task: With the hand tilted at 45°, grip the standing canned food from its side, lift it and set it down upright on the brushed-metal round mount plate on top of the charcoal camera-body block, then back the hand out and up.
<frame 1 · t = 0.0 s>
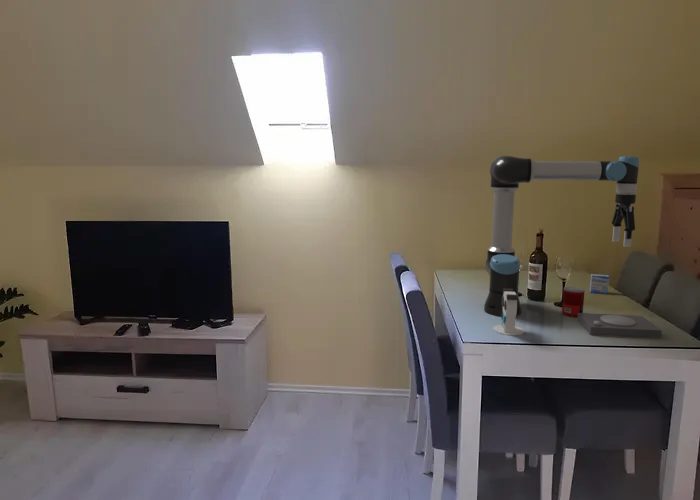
hand: (621, 244, 223), 28 cm above the table, tool pointing down, fingers open, 13 cm apart
canned food: (572, 314, 218), on the table
mount: (616, 328, 200), on the table
medicine box: (598, 293, 254), on the table
white upright stand: (508, 330, 198), on the table
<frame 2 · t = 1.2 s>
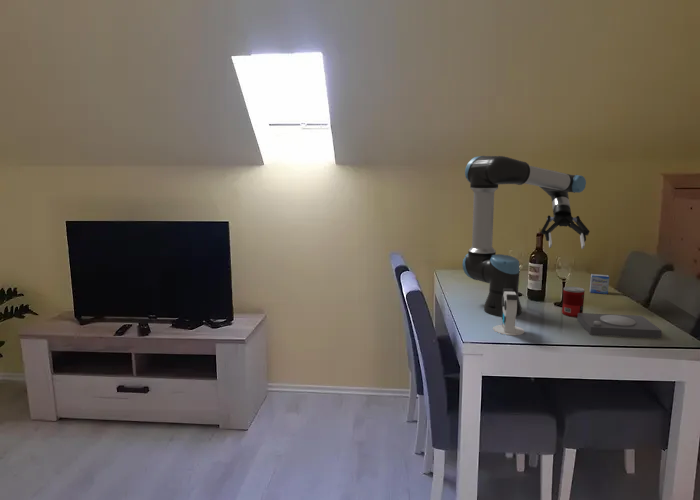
hand: (566, 246, 231), 26 cm above the table, tool tilted 45°, fingers open, 13 cm apart
nothing on the table moved.
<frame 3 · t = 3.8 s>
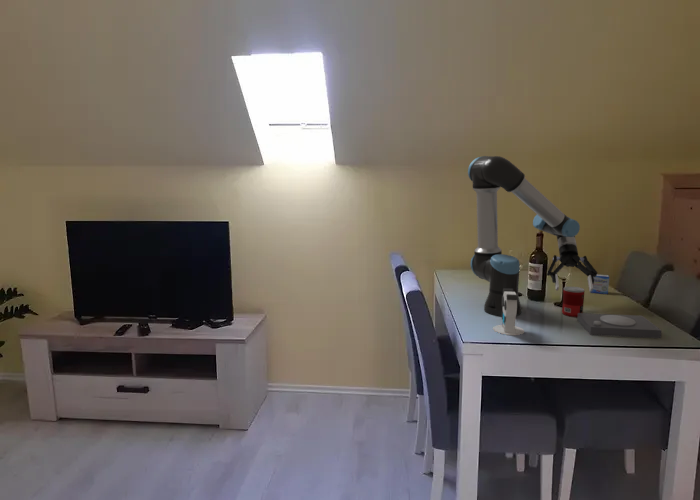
hand: (574, 289, 221), 9 cm above the table, tool tilted 45°, fingers open, 13 cm apart
nothing on the table moved.
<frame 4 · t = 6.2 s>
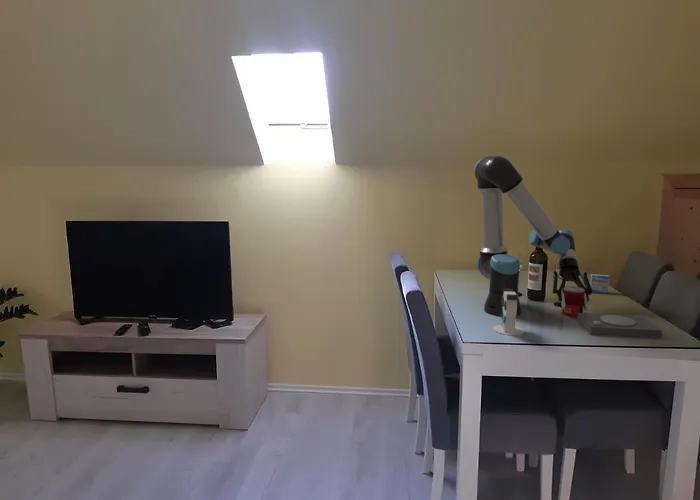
hand: (574, 308, 214), 4 cm above the table, tool tilted 45°, fingers closed on canned food, 8 cm apart
canned food: (572, 314, 218), on the table, touching gripper
everything else where it was.
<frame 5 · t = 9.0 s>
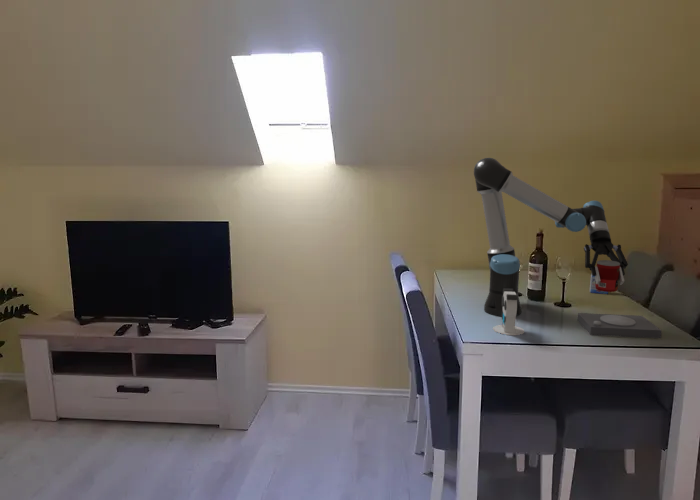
hand: (610, 282, 202), 17 cm above the table, tool tilted 45°, fingers closed on canned food, 8 cm apart
canned food: (606, 290, 206), point 13 cm above the table, touching gripper
everything else where it was.
when the fingers open (9 cm above the table, at t = 11.8 s): canned food drops 1 cm, resting on mount.
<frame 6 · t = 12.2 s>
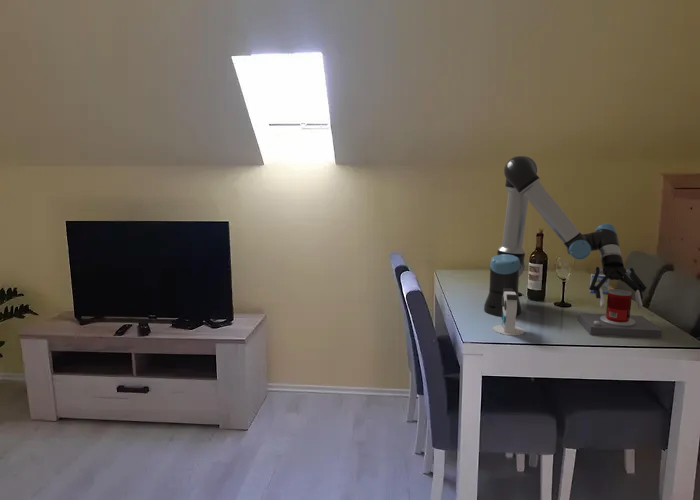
hand: (621, 306, 196), 10 cm above the table, tool tilted 45°, fingers open, 12 cm apart
canned food: (617, 320, 199), point 3 cm above the table, touching mount
everything else where it was.
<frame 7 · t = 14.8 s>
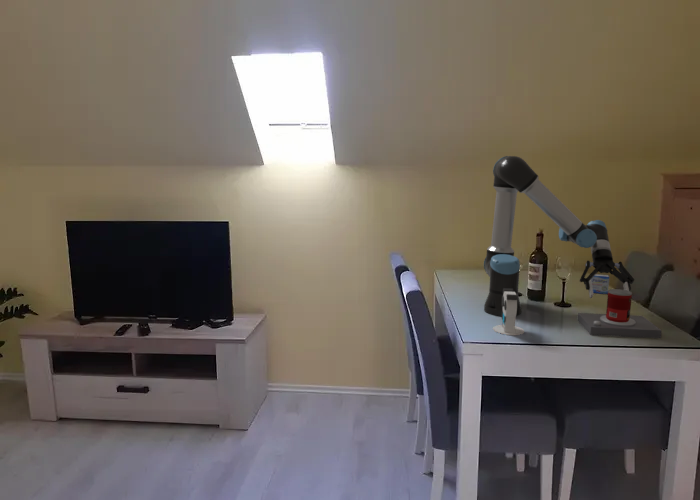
hand: (609, 297, 208), 10 cm above the table, tool tilted 45°, fingers open, 13 cm apart
nothing on the table moved.
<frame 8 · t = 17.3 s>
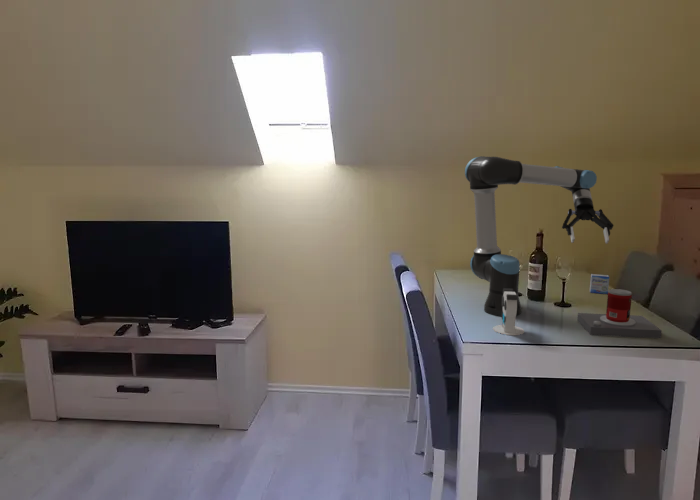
hand: (590, 241, 219), 30 cm above the table, tool tilted 45°, fingers open, 13 cm apart
nothing on the table moved.
at the end: canned food 0.1 cm off-centre on the mount, point 3.4 cm above the mount's base; canned food tilted 0°; the gripper is holding nothing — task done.
